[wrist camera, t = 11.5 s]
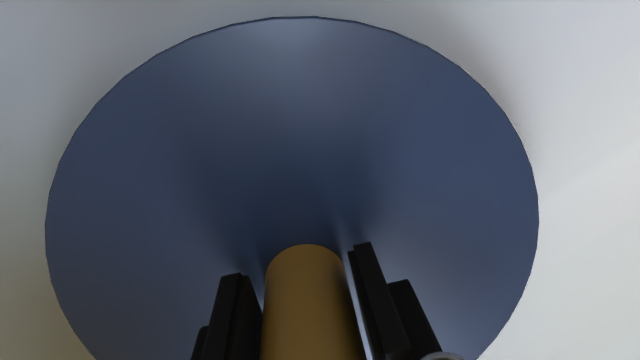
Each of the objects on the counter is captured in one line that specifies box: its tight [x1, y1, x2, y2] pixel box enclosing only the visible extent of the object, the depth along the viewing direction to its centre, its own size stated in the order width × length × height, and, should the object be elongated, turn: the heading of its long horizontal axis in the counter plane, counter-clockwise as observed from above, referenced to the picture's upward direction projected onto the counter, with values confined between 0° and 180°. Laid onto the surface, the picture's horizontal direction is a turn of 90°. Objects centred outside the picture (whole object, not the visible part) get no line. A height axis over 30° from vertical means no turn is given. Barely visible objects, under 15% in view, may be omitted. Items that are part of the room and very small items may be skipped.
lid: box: [45, 16, 539, 360], centre depth 10 cm, size 16×16×7 cm
